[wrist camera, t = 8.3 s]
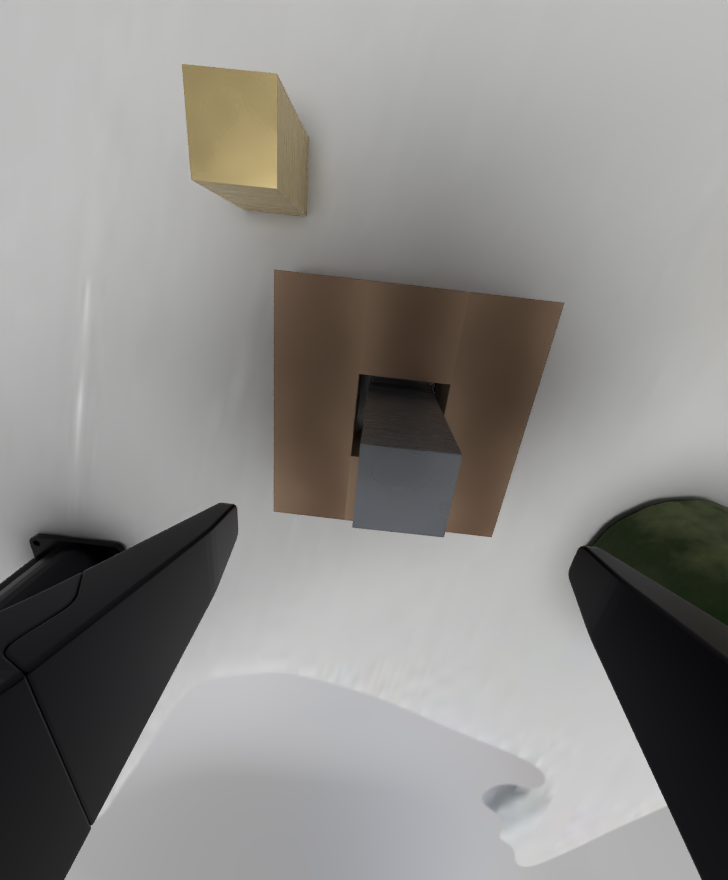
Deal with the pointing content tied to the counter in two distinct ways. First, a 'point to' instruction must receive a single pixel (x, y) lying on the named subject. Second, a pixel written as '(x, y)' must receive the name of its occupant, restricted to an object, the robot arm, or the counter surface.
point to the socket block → (405, 357)
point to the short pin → (246, 139)
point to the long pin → (405, 460)
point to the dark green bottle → (678, 550)
